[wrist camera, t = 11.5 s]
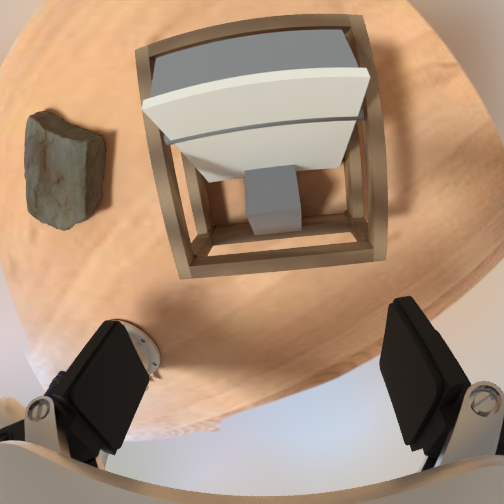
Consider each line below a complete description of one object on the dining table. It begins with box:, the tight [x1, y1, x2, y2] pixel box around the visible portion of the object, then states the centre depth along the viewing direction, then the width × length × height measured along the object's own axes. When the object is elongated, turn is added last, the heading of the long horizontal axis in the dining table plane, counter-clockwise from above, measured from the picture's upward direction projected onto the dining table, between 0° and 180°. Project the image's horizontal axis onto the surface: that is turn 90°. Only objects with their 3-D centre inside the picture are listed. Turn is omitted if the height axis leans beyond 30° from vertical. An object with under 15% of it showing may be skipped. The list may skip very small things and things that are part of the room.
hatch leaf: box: [142, 30, 370, 183], centre depth 21 cm, size 15×15×5 cm
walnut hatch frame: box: [135, 14, 388, 279], centre depth 24 cm, size 21×18×10 cm
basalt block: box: [245, 165, 301, 235], centre depth 28 cm, size 5×5×5 cm
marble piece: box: [24, 111, 106, 231], centre depth 30 cm, size 17×15×4 cm
